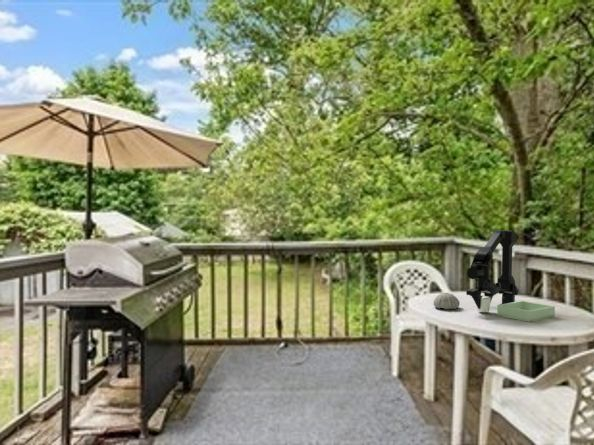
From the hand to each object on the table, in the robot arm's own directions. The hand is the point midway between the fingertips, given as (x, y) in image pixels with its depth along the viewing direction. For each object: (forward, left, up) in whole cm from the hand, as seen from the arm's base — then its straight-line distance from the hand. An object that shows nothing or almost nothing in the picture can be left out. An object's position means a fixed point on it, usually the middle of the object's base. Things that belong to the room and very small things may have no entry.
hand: (483, 307), depth 287 cm
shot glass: (0, 0, -2) cm, 2 cm away
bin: (-10, +17, -3) cm, 20 cm away
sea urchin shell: (+6, -19, -3) cm, 20 cm away
